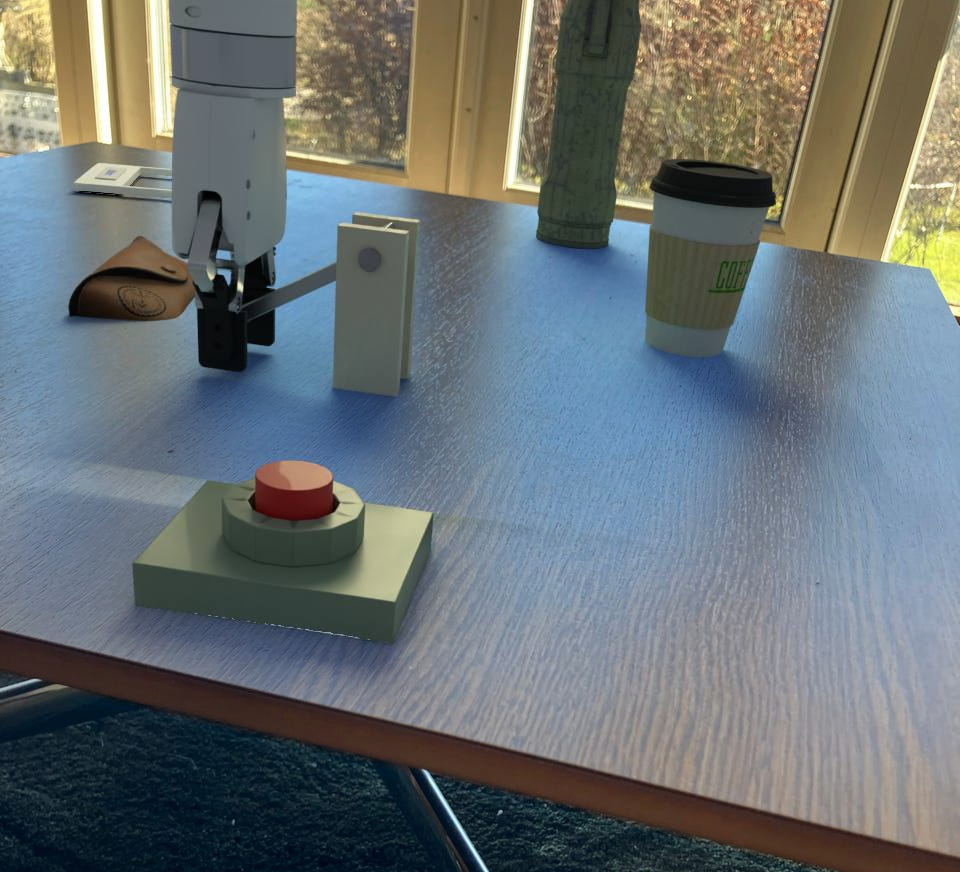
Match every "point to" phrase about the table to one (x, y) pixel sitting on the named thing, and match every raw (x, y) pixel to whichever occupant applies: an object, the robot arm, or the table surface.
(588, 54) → the thermos
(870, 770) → the table surface
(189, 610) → the control block
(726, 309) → the coffee cup
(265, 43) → the robot arm
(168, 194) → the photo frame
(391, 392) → the bracket
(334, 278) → the lever
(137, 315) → the sunglasses case
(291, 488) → the button
